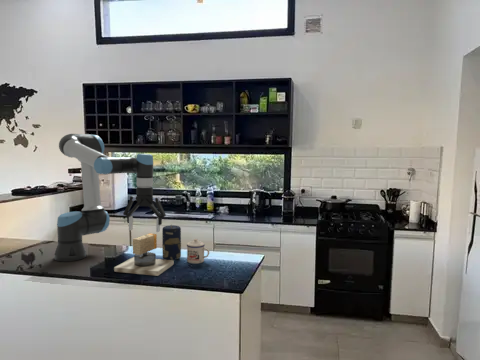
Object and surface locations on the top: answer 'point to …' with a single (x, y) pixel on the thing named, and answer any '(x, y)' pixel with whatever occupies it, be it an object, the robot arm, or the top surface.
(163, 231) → the canister
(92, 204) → the robot arm
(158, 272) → the base plate
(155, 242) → the yellow block on stand
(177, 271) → the top surface
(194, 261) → the teacup with lid
